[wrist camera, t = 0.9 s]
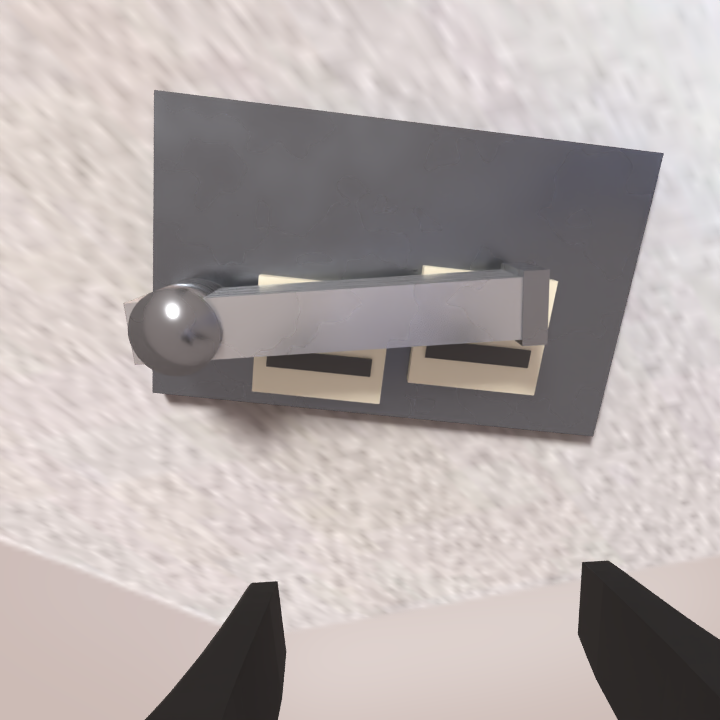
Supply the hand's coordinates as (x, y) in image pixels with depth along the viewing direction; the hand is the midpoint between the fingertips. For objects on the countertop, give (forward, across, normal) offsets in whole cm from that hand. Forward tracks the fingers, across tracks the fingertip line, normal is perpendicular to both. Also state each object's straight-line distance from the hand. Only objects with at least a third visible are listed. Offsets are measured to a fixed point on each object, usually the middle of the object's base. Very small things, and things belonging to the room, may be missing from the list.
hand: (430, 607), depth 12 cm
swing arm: (+9, +2, -6) cm, 11 cm away
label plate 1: (+10, +3, -4) cm, 12 cm away
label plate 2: (+10, -3, -4) cm, 12 cm away
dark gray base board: (+10, 0, -6) cm, 12 cm away
